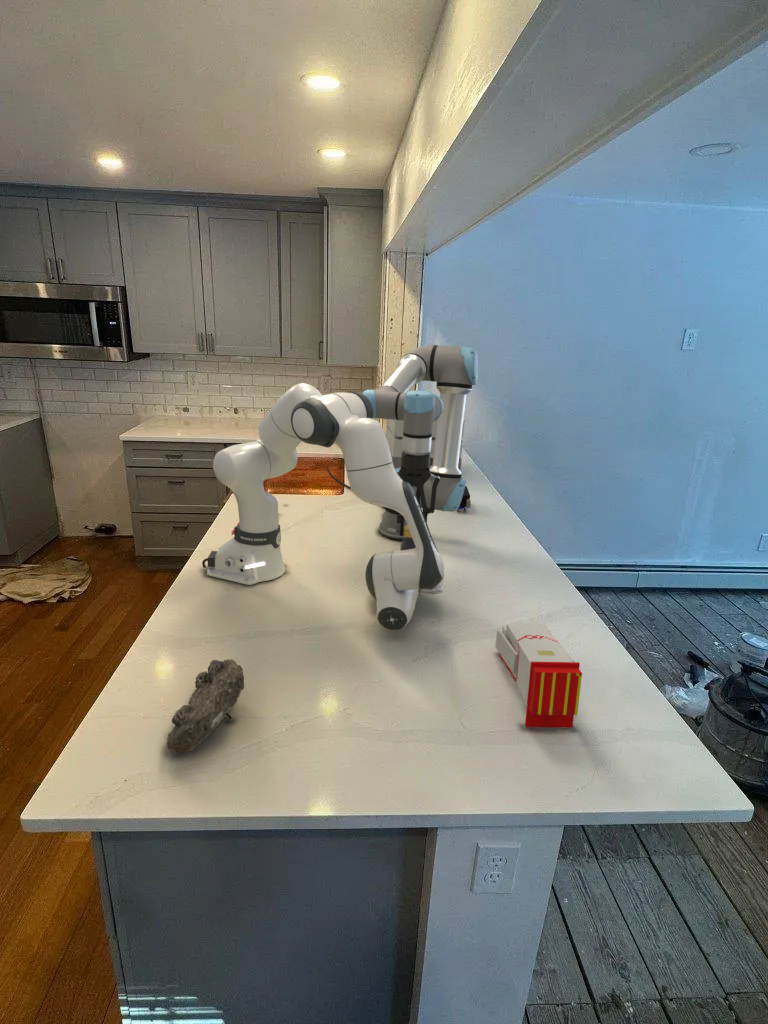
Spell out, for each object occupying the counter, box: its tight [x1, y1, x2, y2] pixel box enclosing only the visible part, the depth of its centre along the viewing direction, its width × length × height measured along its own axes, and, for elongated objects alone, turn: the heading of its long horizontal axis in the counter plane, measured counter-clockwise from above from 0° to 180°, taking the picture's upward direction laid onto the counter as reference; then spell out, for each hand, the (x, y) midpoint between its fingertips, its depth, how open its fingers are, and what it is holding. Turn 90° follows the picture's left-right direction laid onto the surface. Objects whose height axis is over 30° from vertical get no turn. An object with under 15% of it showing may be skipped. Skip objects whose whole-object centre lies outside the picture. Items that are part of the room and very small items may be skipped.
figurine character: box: [456, 485, 472, 513], centre depth 228 cm, size 7×8×15 cm
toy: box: [494, 623, 583, 729], centre depth 120 cm, size 12×13×30 cm
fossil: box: [166, 658, 245, 754], centre depth 106 cm, size 22×10×15 cm
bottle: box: [399, 537, 416, 551], centre depth 158 cm, size 5×5×18 cm
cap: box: [403, 525, 412, 538], centre depth 155 cm, size 4×4×2 cm
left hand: (409, 566), depth 159 cm, fingers closed on bottle, 5 cm apart
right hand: (411, 534), depth 155 cm, fingers closed on cap, 4 cm apart
